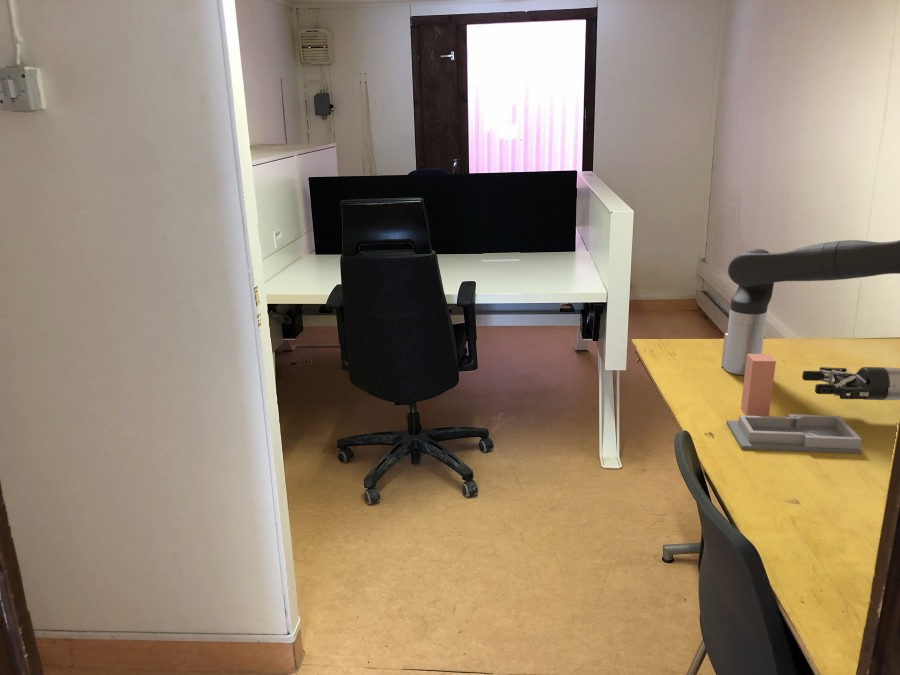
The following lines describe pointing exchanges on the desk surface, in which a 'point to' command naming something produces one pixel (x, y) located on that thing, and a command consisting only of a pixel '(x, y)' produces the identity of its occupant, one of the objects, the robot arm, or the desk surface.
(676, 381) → the desk surface
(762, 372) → the block
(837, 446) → the keyhole board
